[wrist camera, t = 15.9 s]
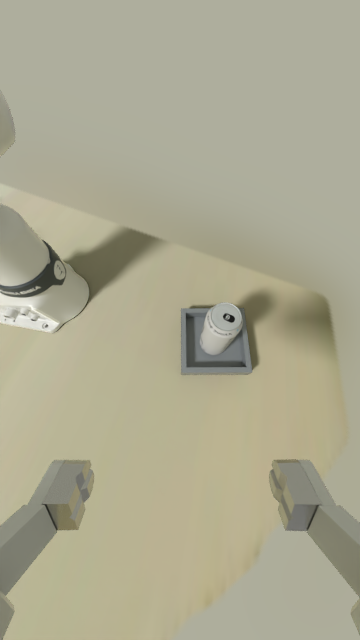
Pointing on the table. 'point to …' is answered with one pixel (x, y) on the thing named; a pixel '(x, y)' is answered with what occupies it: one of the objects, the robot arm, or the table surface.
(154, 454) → the table surface
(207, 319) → the energy drink can
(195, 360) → the gray tray
